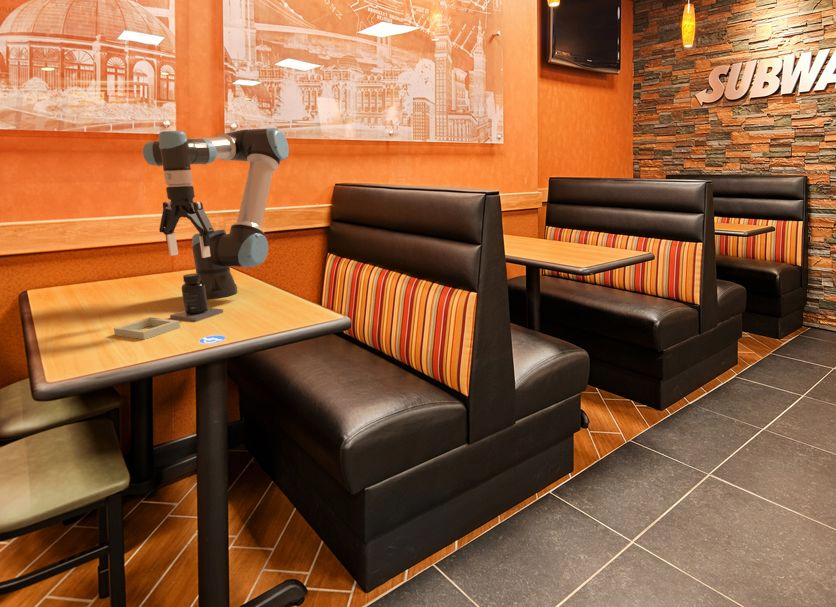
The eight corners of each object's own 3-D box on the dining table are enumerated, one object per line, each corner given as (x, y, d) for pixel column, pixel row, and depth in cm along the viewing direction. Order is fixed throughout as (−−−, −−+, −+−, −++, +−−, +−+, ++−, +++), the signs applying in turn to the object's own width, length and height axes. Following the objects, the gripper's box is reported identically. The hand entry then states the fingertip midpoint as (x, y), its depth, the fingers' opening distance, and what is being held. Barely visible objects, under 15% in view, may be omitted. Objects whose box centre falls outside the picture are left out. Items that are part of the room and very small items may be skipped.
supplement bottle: (189, 309, 174) (184, 273, 171) (211, 308, 174) (206, 272, 171) (182, 315, 167) (176, 277, 164) (204, 314, 168) (199, 276, 165)
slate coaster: (170, 318, 168) (169, 315, 168) (197, 309, 178) (197, 306, 178) (196, 321, 164) (195, 318, 164) (223, 312, 174) (222, 309, 173)
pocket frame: (114, 335, 153) (113, 328, 152) (151, 323, 163) (150, 317, 163) (144, 339, 148) (143, 332, 147) (180, 327, 158) (179, 320, 158)
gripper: (139, 186, 163) (151, 256, 169) (200, 185, 153) (211, 260, 158) (160, 185, 170) (170, 252, 175) (220, 184, 159) (229, 255, 165)
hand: (190, 256), depth 167 cm, fingers open, 13 cm apart
